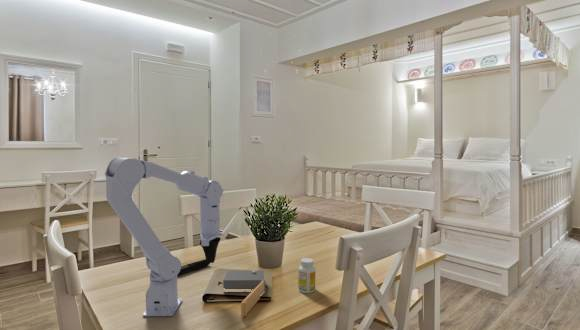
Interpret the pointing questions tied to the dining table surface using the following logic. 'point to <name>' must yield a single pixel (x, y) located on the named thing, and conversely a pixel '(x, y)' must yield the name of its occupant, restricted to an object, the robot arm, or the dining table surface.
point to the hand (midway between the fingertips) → (210, 262)
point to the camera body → (243, 279)
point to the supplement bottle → (306, 276)
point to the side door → (252, 299)
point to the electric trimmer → (193, 266)
